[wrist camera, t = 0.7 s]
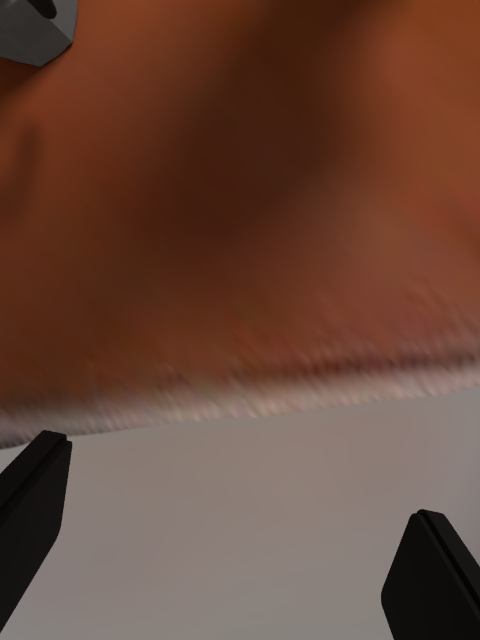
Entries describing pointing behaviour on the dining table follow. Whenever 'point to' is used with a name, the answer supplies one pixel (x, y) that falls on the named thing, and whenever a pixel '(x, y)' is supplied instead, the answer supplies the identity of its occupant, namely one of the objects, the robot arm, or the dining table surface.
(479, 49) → the dining table surface
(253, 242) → the dining table surface
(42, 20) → the coffeepot
